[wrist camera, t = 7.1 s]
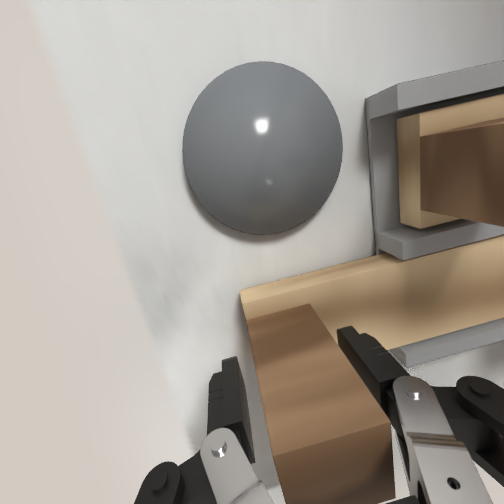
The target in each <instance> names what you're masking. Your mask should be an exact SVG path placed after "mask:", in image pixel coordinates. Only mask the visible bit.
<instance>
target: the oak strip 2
mask: <svg viewBox="0 0 504 504" xmlns="http://www.w3.org/2000/svg"><path fill="white" fill-rule="evenodd" d="M397 142H398V171H399V199H400V223H402V224H406V225H409V226H413V227H416V228H419V229H422V228H426V227H430V226H434V225H438V224H442V223H446V222H450V221H454V220H457V219H461V218H462V219H467V220H472V221H477V222H482V223H486V224H491V225H496V226H501V227H504V94H500V95H496V96H492V97H487V98H483V99H478V100H474V101H470V102H465V103H461V104H457V105H452V106H448V107H444V108H439V109H435V110H431V111H426V112H422V113H418V114H414V115H411V116H407V117H403V118H400V119H397Z"/></svg>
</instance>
